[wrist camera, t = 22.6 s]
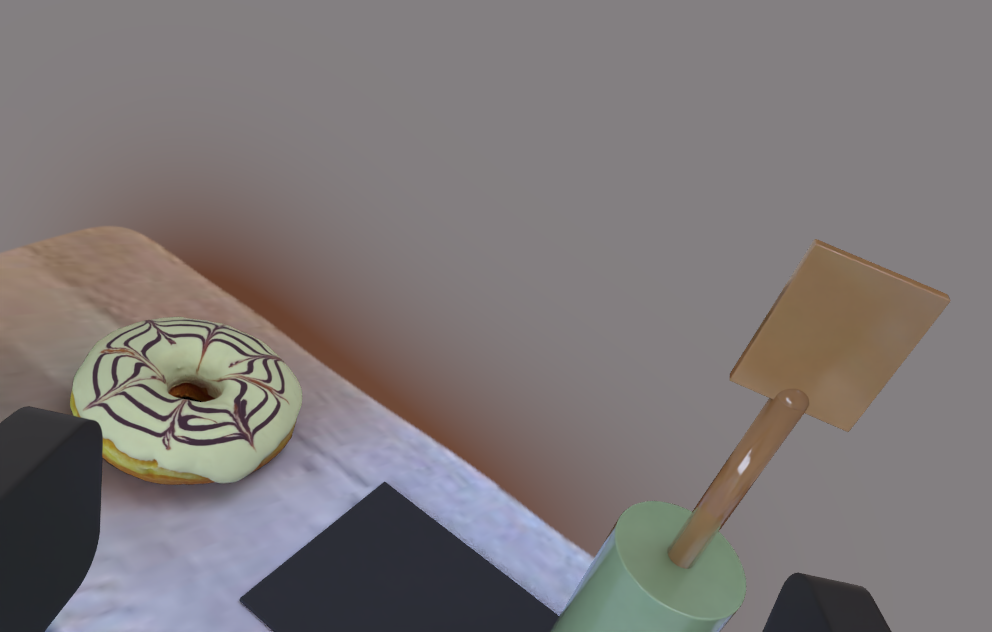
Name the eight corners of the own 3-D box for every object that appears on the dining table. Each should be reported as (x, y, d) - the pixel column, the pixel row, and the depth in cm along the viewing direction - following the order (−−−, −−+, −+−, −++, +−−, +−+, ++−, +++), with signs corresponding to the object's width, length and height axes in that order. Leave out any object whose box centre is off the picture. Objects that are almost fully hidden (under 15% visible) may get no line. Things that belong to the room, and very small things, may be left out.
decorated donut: (264, 526, 38) (277, 474, 36) (30, 474, 36) (28, 416, 34) (310, 385, 47) (322, 336, 45) (122, 338, 45) (125, 284, 43)
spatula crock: (505, 738, 33) (799, 272, 20) (533, 636, 38) (791, 199, 25) (620, 792, 33) (994, 355, 20) (635, 683, 37) (950, 266, 24)
